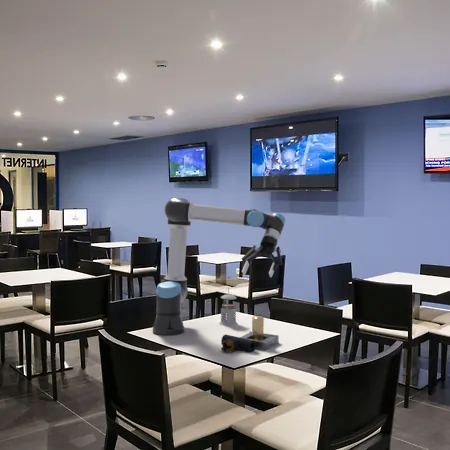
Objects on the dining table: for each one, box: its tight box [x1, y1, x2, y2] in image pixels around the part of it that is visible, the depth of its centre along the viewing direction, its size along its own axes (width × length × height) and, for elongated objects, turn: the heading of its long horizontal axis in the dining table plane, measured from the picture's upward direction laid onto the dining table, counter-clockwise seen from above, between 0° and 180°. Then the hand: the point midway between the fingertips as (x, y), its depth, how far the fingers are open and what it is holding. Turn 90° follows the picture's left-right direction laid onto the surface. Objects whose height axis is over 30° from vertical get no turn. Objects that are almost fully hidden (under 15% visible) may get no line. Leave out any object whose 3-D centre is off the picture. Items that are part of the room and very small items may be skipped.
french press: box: [218, 275, 238, 327], centre depth 266 cm, size 10×12×25 cm
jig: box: [240, 331, 279, 351], centre depth 226 cm, size 14×14×3 cm
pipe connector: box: [220, 334, 257, 354], centre depth 216 cm, size 12×5×15 cm
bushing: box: [251, 315, 265, 341], centre depth 225 cm, size 5×5×12 cm
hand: (256, 274), depth 235 cm, fingers open, 13 cm apart
